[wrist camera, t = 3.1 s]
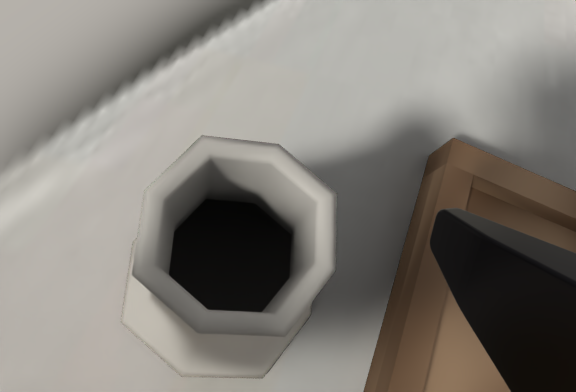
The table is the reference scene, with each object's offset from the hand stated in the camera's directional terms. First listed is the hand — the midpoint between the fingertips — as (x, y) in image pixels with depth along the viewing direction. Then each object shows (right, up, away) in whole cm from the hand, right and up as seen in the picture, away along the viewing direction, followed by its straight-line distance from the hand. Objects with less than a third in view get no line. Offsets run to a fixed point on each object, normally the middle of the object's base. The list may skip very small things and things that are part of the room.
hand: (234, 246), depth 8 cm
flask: (-1, -2, +8) cm, 8 cm away
